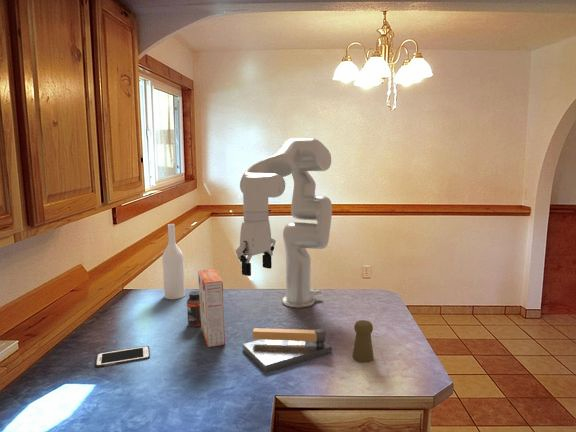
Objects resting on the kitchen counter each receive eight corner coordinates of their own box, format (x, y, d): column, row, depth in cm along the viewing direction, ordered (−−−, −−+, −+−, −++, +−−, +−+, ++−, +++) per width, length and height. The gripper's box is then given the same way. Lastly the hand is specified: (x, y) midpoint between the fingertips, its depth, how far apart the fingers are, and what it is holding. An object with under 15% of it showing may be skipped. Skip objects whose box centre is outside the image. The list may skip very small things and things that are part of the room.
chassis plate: (305, 334, 141) (305, 323, 140) (331, 352, 128) (331, 341, 128) (243, 350, 130) (242, 339, 130) (265, 372, 117) (265, 360, 117)
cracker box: (200, 330, 145) (197, 269, 141) (218, 327, 147) (215, 268, 143) (206, 348, 132) (203, 282, 128) (225, 345, 134) (223, 280, 130)
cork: (360, 365, 121) (361, 327, 119) (348, 355, 126) (348, 320, 125) (377, 359, 124) (378, 323, 122) (364, 351, 129) (365, 316, 127)
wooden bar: (325, 337, 130) (325, 329, 129) (325, 342, 127) (325, 333, 126) (254, 334, 132) (254, 326, 132) (252, 339, 129) (252, 331, 128)
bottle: (174, 300, 172) (170, 226, 167) (160, 297, 176) (156, 225, 172) (189, 294, 179) (185, 223, 174) (174, 291, 183) (171, 221, 178)
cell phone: (150, 359, 126) (150, 356, 126) (95, 369, 121) (94, 365, 121) (149, 348, 133) (148, 345, 133) (97, 356, 128) (96, 353, 128)
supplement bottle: (207, 320, 152) (206, 290, 151) (202, 327, 147) (201, 295, 145) (191, 320, 153) (189, 289, 151) (185, 327, 147) (184, 295, 145)
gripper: (264, 212, 140) (265, 263, 142) (226, 219, 126) (228, 276, 129) (283, 214, 135) (283, 267, 138) (246, 221, 121) (247, 280, 124)
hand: (257, 271), depth 133 cm, fingers open, 9 cm apart
